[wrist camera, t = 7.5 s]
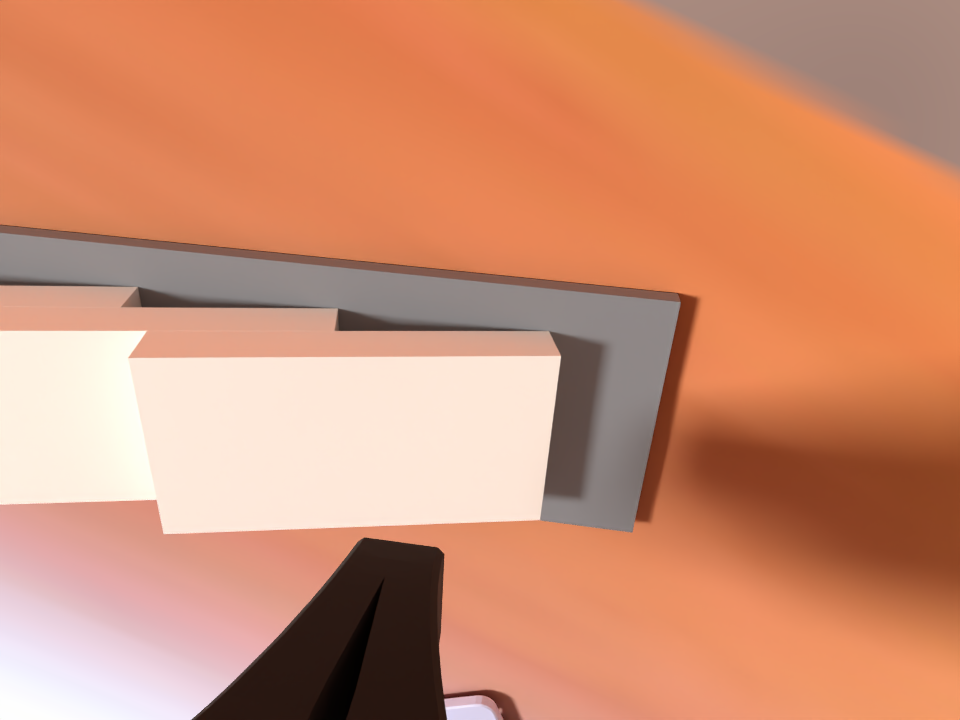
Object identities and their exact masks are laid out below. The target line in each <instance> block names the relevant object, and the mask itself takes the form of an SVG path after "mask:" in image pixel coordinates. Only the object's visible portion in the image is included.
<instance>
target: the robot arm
mask: <svg viewBox="0 0 960 720" xmlns="http://www.w3.org/2000/svg"><path fill="white" fill-rule="evenodd" d="M443 571H444V553H443V552H442V551H441V550H440V549H439V548H437V547H430V546H423V545H415V544H408V543H401V542H393V541H386V540H379V539H371V538H363V539H362V540H360V541H359V542H357V544H356V545H355V546H354V548H353V549H352V550H351V552H350V553H349V554H348V556H347V557H346V558H345V560H344V561H343V562H342V563H341V565H340V566H339V567H338V568H337V570H336V571H335V572H334V573H333V575H332V576H331V577H330V578H329V579H328V581H327V582H326V583H325V584H324V585H323V587H322V588H321V589H320V590H319V591H318V593H317V594H316V595H315V596H314V597H313V598H312V600H311V601H310V602H309V603H308V604H307V605H306V606H305V607H304V608H303V610H302V611H301V612H300V613H299V614H298V615H297V616H296V617H295V618H294V620H293V621H292V622H291V623H290V624H289V625H288V626H287V627H286V628H285V630H284V631H283V632H282V633H281V634H280V635H279V636H278V637H277V638H276V639H275V640H274V641H273V642H272V643H271V644H270V645H269V646H268V647H267V648H266V649H265V650H264V651H263V652H262V653H261V654H260V655H259V656H258V657H257V658H256V659H255V660H254V661H253V662H252V663H251V664H250V665H249V666H248V667H247V668H246V669H245V670H244V671H243V672H242V673H241V674H240V675H239V676H238V677H237V678H236V679H235V680H234V681H233V682H232V683H231V684H230V685H229V686H228V687H227V688H226V689H225V690H224V691H223V692H222V693H221V694H220V695H218V696H217V697H216V698H215V699H214V700H213V701H212V702H211V703H210V704H209V705H208V706H206V707H205V708H204V709H203V710H202V711H201V712H200V713H199V714H197V715H196V716H195V717H194V718H193V719H192V720H503V718H502V716H501V713H500V711H499V709H498V707H497V705H496V703H495V702H494V701H493V700H492V699H490V698H489V697H487V696H483V695H475V696H466V697H457V698H448V699H444V694H443V686H442V678H441V668H440V655H439V640H440V634H441V614H442V593H443Z"/></svg>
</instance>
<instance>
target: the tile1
mask: <svg viewBox="0 0 960 720" xmlns="http://www.w3.org/2000/svg"><path fill="white" fill-rule="evenodd" d="M560 360H561V355H560V353H559V351H558V349H557V347H556V345H555V343H554V341H553V338H552V336H551V334H550V332H549V331H147V332H146V333H145V334H144V336H143V337H142V339H141V340H140V342H139V343H138V344H137V346H136V347H135V349H134V350H133V352H132V353H131V354H130V356H129V357H128V361H129V365H130V370H131V375H132V380H133V385H134V390H135V395H136V400H137V405H138V410H139V415H140V420H141V425H142V430H143V434H144V439H145V444H146V449H147V454H148V459H149V464H150V469H151V474H152V479H153V484H154V489H155V494H156V499H157V503H158V508H159V513H160V518H161V523H162V528H163V533H164V534H179V533H205V532H232V531H259V530H285V529H312V528H339V527H365V526H392V525H419V524H445V523H472V522H499V521H525V520H540V516H541V509H542V501H543V493H544V485H545V477H546V469H547V462H548V454H549V446H550V438H551V430H552V422H553V415H554V407H555V399H556V391H557V383H558V376H559V368H560Z"/></svg>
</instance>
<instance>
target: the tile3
mask: <svg viewBox="0 0 960 720" xmlns="http://www.w3.org/2000/svg"><path fill="white" fill-rule="evenodd" d="M0 307H142V306H141V301H140V296H139V290H138V287H102V286H1V285H0Z"/></svg>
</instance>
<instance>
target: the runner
mask: <svg viewBox="0 0 960 720" xmlns="http://www.w3.org/2000/svg"><path fill="white" fill-rule="evenodd" d="M0 285H1V286H102V287H138V290H139V296H140V301H141V306H142V307H153V308H338V323H339V331H549V332H550V334H551V336H552V338H553V341H554V343H555V345H556V347H557V349H558V351H559V353H560V355H561V360H560V368H559V376H558V383H557V391H556V399H555V407H554V415H553V422H552V430H551V438H550V446H549V454H548V462H547V469H546V477H545V485H544V493H543V501H542V509H541V516H540V520H541V521H549V522H557V523H564V524H572V525H579V526H587V527H595V528H602V529H610V530H618V531H625V532H633V527H634V522H635V517H636V513H637V508H638V503H639V498H640V494H641V489H642V484H643V479H644V475H645V470H646V465H647V460H648V456H649V451H650V446H651V442H652V437H653V432H654V427H655V423H656V418H657V413H658V408H659V404H660V399H661V394H662V389H663V385H664V380H665V375H666V370H667V366H668V361H669V356H670V351H671V347H672V342H673V337H674V332H675V328H676V323H677V318H678V313H679V309H680V304H681V301H680V298H679V295H678V293H668V292H658V291H648V290H638V289H628V288H618V287H608V286H598V285H589V284H579V283H569V282H559V281H549V280H539V279H529V278H519V277H509V276H499V275H489V274H480V273H470V272H460V271H450V270H440V269H430V268H420V267H410V266H400V265H390V264H380V263H371V262H361V261H351V260H341V259H331V258H321V257H311V256H301V255H291V254H281V253H271V252H262V251H252V250H242V249H232V248H222V247H212V246H202V245H192V244H182V243H172V242H162V241H153V240H143V239H133V238H123V237H113V236H103V235H93V234H83V233H73V232H63V231H53V230H44V229H34V228H24V227H14V226H4V225H0Z"/></svg>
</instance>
